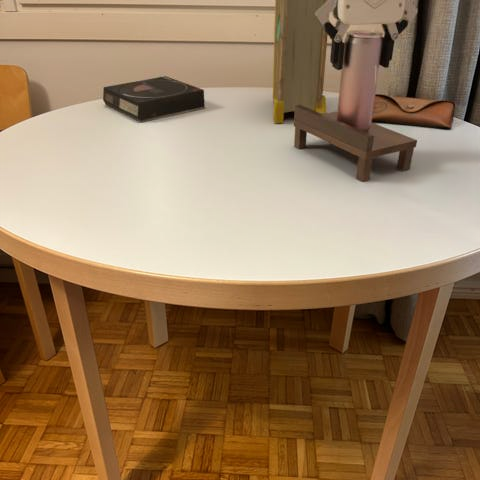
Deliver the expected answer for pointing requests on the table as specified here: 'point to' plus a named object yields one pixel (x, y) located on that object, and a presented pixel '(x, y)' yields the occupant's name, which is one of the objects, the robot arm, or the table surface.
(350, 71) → the beverage can
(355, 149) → the wooden step stool
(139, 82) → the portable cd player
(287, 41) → the decorative book
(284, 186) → the table surface
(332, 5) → the robot arm
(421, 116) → the sunglasses case
